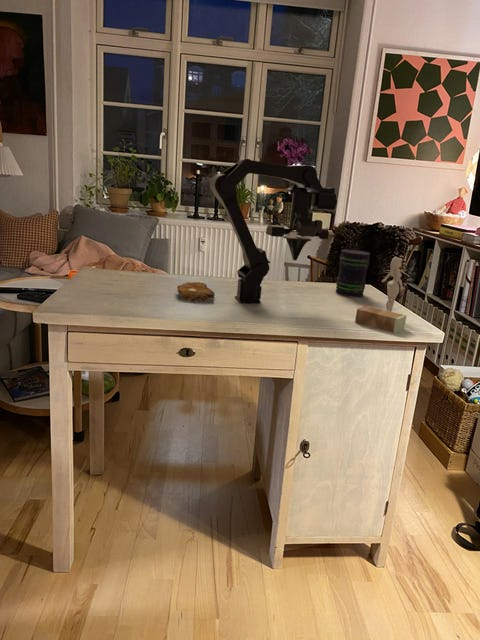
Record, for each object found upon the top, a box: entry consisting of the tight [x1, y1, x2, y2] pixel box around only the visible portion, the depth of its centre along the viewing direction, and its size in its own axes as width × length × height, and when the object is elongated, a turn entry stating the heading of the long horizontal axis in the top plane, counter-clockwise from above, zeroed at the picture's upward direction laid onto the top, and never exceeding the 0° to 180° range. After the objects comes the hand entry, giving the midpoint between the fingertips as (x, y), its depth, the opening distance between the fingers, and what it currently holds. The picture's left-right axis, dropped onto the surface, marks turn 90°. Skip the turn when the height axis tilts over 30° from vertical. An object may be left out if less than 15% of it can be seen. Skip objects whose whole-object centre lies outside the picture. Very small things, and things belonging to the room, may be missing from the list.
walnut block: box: [354, 305, 407, 334], centre depth 140 cm, size 4×6×12 cm
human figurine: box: [381, 256, 406, 312], centre depth 149 cm, size 12×4×18 cm, turn 12°
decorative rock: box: [176, 281, 215, 303], centre depth 154 cm, size 11×4×15 cm
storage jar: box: [335, 248, 371, 298], centre depth 175 cm, size 10×10×15 cm
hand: (294, 260), depth 156 cm, fingers closed
